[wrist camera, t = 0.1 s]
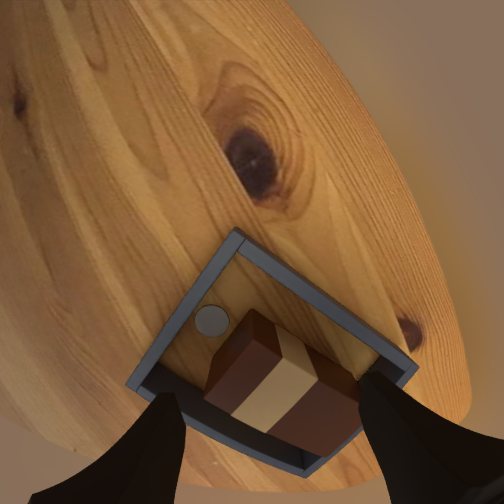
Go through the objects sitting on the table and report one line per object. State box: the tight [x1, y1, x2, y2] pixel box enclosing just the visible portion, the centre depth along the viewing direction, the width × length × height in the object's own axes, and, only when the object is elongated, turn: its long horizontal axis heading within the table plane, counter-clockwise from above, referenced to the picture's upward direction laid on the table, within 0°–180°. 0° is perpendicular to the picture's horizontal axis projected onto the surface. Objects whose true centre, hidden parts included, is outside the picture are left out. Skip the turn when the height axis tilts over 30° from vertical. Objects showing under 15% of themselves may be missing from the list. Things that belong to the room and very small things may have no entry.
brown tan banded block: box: [204, 309, 362, 458], centre depth 17 cm, size 5×9×5 cm, turn 54°
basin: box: [125, 227, 419, 478], centre depth 18 cm, size 12×15×4 cm
